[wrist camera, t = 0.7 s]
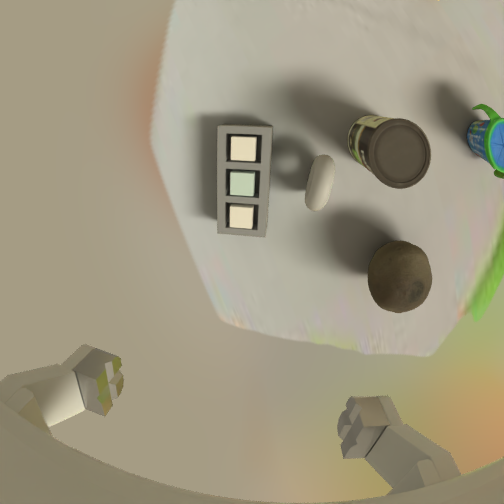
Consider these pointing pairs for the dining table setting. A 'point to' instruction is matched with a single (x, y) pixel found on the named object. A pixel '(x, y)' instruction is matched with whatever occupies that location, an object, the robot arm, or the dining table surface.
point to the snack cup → (488, 139)
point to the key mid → (242, 182)
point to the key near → (243, 148)
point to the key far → (241, 215)
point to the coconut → (399, 276)
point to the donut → (319, 182)
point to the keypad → (259, 166)
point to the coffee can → (390, 149)
